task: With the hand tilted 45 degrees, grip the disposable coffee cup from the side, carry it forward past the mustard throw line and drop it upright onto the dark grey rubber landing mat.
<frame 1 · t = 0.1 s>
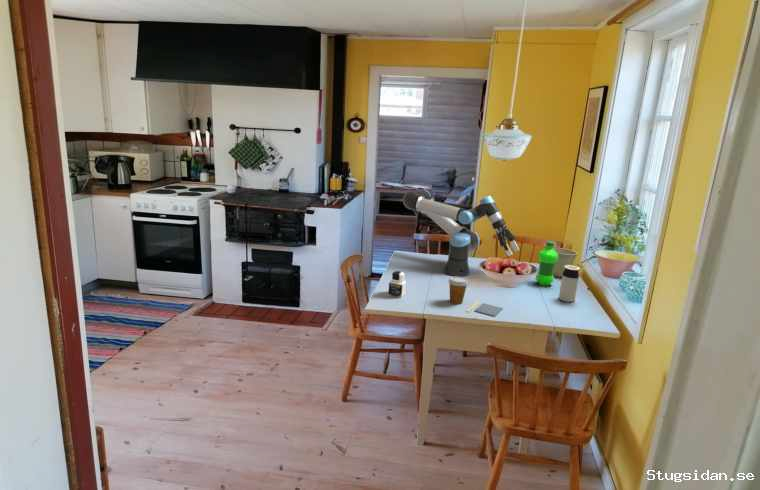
hand: (513, 253, 283), 15 cm above the table, tool tilted 35°, fingers open, 13 cm apart
disposable coffee cup: (456, 302, 242), on the table
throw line: (473, 307, 237), on the table
plant pot: (559, 276, 297), on the table
plastic bottle: (543, 284, 279), on the table
landing mat: (488, 310, 234), on the table
medicine bottle: (396, 295, 247), on the table
travel mug: (566, 300, 256), on the table
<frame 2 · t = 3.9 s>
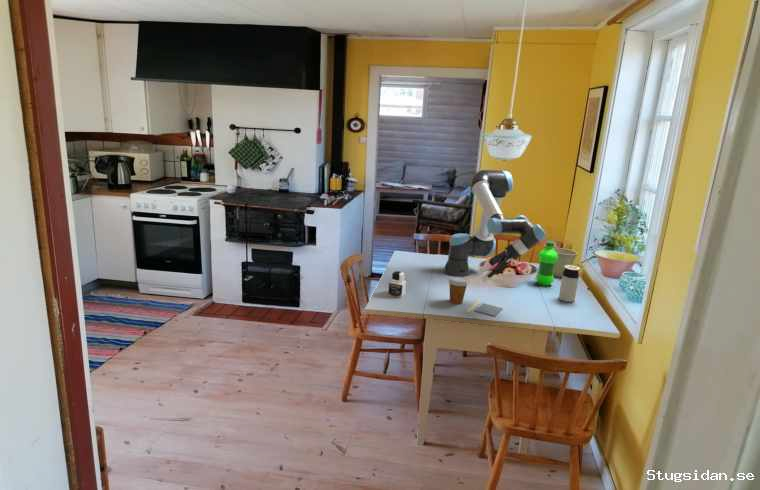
hand: (481, 276, 237), 15 cm above the table, tool tilted 45°, fingers open, 13 cm apart
nothing on the table moved.
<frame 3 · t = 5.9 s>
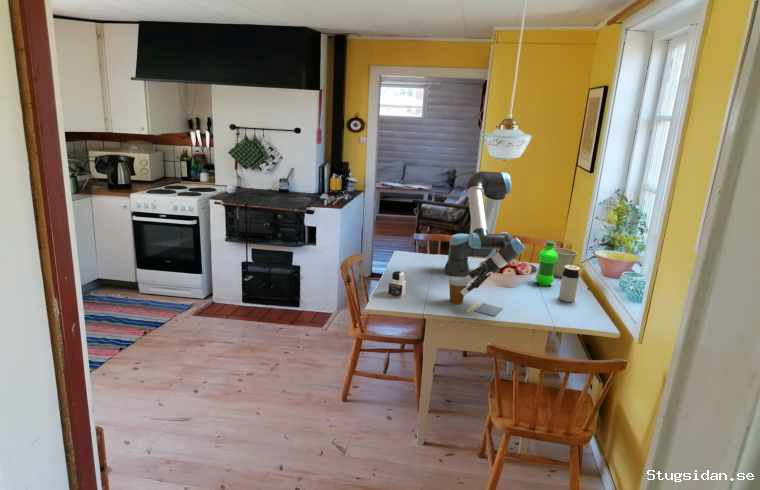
hand: (461, 289, 239), 7 cm above the table, tool tilted 45°, fingers open, 13 cm apart
nothing on the table moved.
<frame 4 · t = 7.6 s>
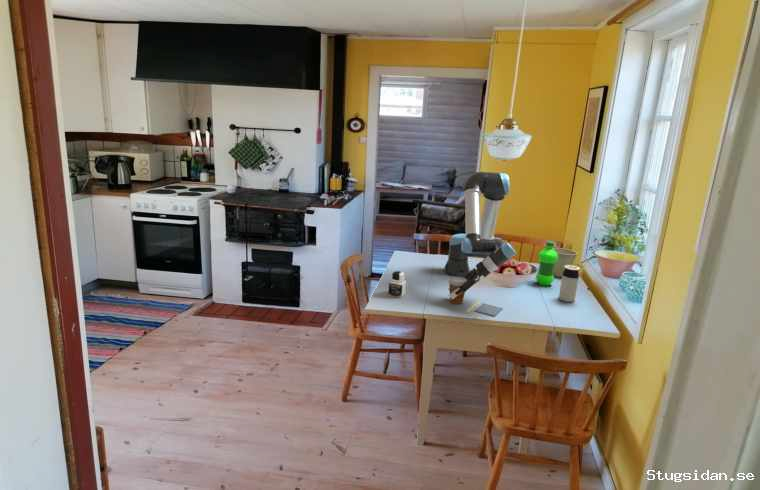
hand: (450, 294, 241), 4 cm above the table, tool tilted 45°, fingers closed on disposable coffee cup, 8 cm apart
disposable coffee cup: (456, 302, 242), on the table, touching gripper
everything else where it was.
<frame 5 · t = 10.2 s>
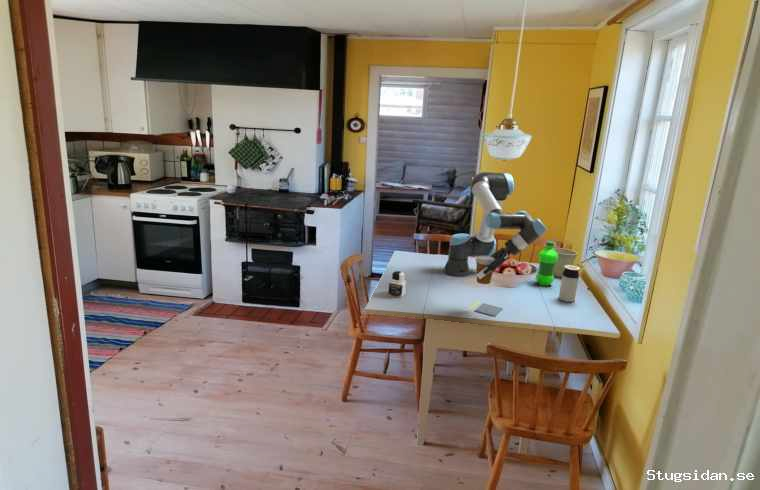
hand: (477, 274, 231), 17 cm above the table, tool tilted 45°, fingers closed on disposable coffee cup, 8 cm apart
disposable coffee cup: (483, 282, 232), point 13 cm above the table, touching gripper
everything else where it was.
when the fingers open (6 cm above the table, at t = 13.1 s): disposable coffee cup moves 4 cm, resting on landing mat.
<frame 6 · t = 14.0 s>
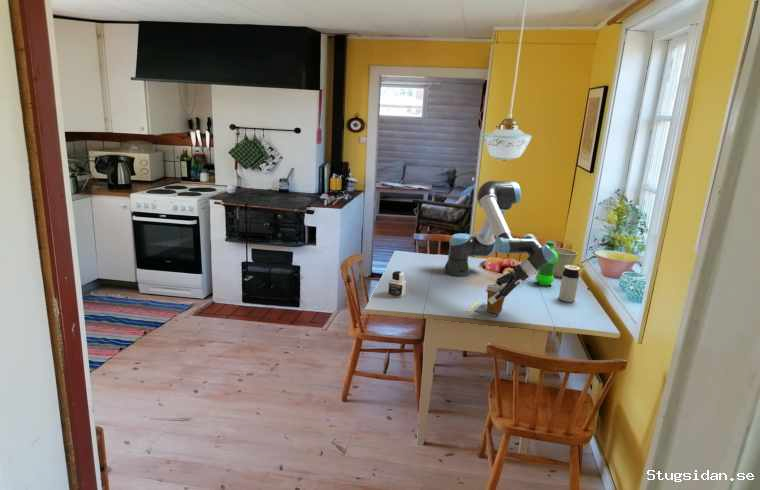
hand: (488, 297, 232), 7 cm above the table, tool tilted 45°, fingers open, 13 cm apart
disposable coffee cup: (493, 311, 230), point 1 cm above the table, touching landing mat
everything else where it was.
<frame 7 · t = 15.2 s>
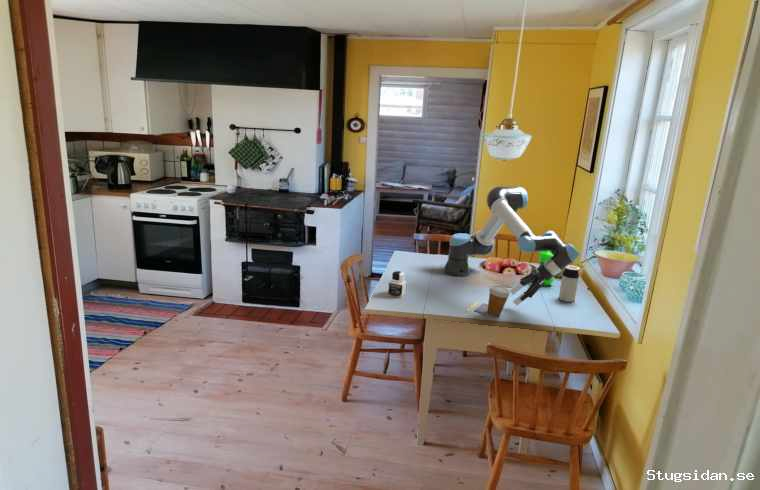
hand: (512, 298, 232), 7 cm above the table, tool tilted 40°, fingers open, 13 cm apart
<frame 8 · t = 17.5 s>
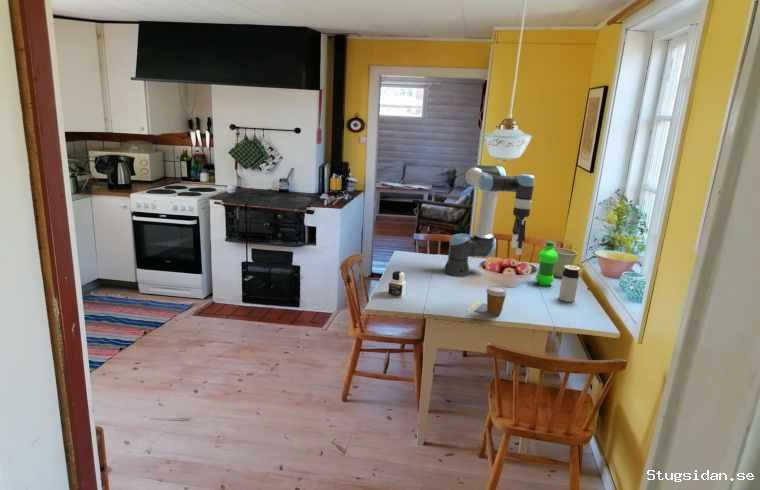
hand: (516, 250, 234), 29 cm above the table, tool pointing down, fingers open, 13 cm apart
at the end: disposable coffee cup inside the target area on the landing mat (4.3 cm from its centre), point 0.4 cm above the landing mat's base; disposable coffee cup tilted 0°; the gripper is holding nothing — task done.
